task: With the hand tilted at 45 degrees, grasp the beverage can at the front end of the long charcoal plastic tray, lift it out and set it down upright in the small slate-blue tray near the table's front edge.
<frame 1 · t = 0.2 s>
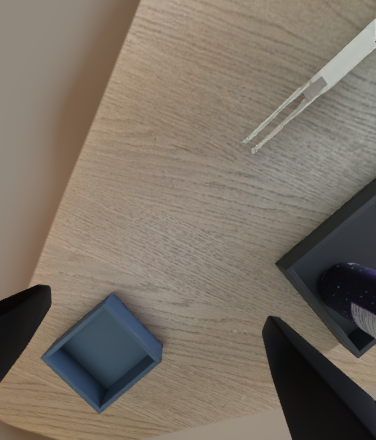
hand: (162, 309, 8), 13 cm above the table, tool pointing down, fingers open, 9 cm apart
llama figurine: (304, 93, 21), on the table
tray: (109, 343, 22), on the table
beverage can: (336, 282, 23), resting on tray
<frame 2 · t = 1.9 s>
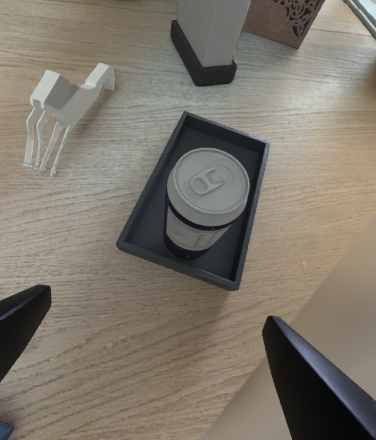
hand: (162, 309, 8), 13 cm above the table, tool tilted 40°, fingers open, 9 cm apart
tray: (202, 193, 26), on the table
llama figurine: (83, 128, 28), on the table
tissue box cover: (248, 16, 47), on the table
container: (199, 61, 37), on the table
beverage can: (187, 237, 23), resting on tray
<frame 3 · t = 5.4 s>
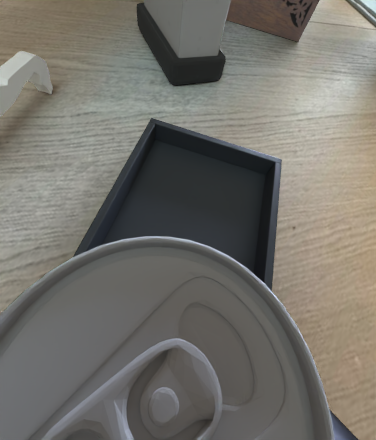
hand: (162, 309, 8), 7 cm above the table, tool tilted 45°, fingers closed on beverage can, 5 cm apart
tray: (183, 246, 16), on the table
tissue box cover: (235, 7, 39), on the table
container: (176, 55, 29), on the table
beverage can: (156, 333, 13), resting on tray, touching gripper
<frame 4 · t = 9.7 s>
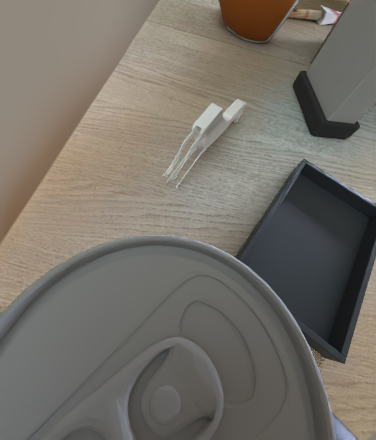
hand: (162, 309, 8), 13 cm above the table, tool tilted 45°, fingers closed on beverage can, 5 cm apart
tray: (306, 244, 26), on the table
white toothpaste tube: (315, 22, 56), on the table
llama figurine: (205, 151, 30), on the table
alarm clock: (249, 29, 49), on the table
container: (316, 111, 38), on the table
beverage can: (156, 333, 13), point 7 cm above the table, touching gripper
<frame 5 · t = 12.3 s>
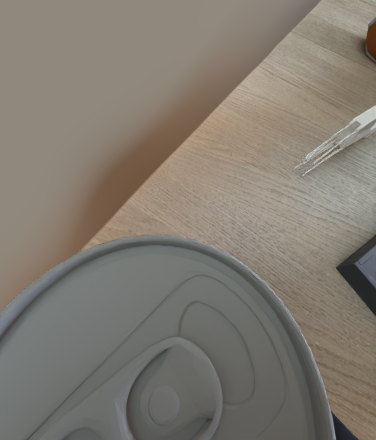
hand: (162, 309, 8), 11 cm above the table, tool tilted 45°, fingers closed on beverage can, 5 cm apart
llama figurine: (331, 153, 31), on the table
beverage can: (156, 333, 13), point 5 cm above the table, touching gripper
when the fingers open (7 cm above the table, at t = 14.2 s): beverage can stays where it is, resting on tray.
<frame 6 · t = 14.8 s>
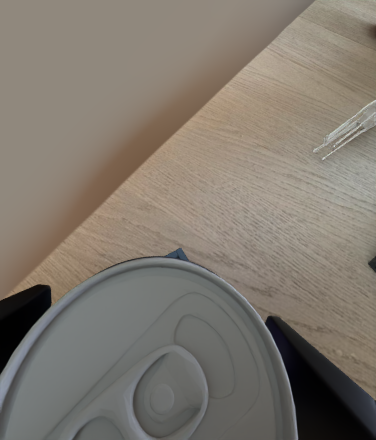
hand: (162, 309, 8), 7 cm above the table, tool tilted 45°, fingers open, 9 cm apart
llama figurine: (351, 137, 28), on the table
beverage can: (156, 336, 14), resting on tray
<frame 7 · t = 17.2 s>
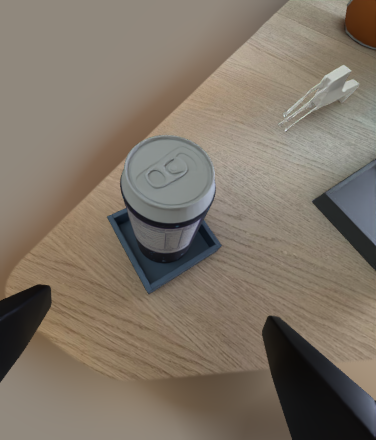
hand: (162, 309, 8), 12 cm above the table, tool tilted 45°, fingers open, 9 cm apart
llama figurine: (311, 115, 35), on the table
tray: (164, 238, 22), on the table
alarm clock: (365, 37, 52), on the table
beverage can: (164, 239, 22), resting on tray
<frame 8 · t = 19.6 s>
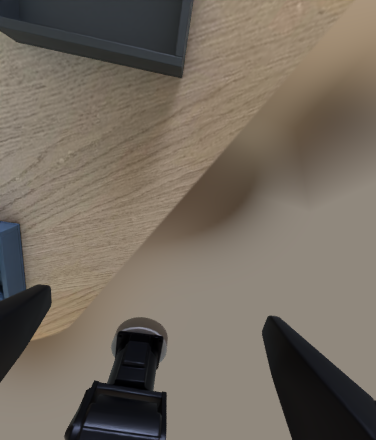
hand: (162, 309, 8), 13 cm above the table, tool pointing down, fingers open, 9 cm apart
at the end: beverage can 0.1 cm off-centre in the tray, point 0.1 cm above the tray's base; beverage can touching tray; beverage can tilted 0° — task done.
